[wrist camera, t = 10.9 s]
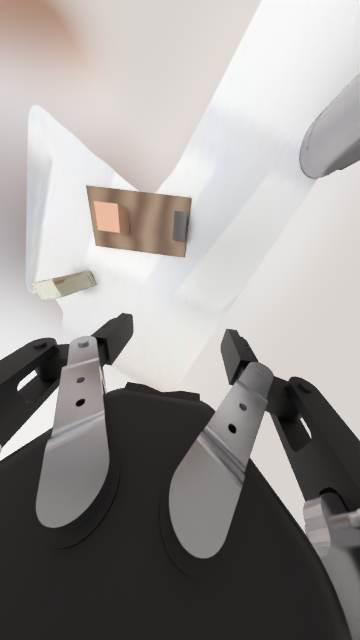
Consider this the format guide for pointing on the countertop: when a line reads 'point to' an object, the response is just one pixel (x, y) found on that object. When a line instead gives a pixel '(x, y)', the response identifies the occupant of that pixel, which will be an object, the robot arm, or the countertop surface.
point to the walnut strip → (144, 221)
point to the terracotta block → (112, 217)
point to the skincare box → (64, 285)
